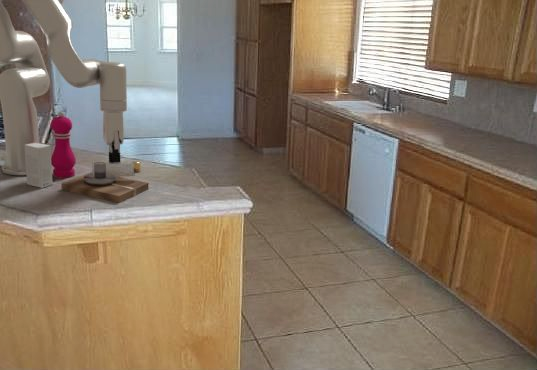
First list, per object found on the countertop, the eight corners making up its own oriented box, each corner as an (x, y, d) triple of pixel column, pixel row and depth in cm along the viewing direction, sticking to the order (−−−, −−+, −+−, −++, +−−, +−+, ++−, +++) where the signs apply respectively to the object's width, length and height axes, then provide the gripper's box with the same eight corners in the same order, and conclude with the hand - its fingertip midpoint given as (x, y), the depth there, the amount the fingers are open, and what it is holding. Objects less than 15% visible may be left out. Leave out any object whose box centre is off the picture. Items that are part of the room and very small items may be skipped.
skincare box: (53, 184, 153) (51, 145, 149) (41, 188, 149) (39, 148, 146) (38, 180, 155) (35, 141, 152) (26, 184, 152) (23, 144, 148)
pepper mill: (68, 179, 158) (65, 114, 152) (46, 176, 160) (42, 112, 153) (80, 173, 165) (78, 111, 159) (60, 170, 166) (57, 108, 160)
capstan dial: (85, 186, 147) (84, 168, 145) (82, 177, 155) (81, 160, 153) (143, 183, 153) (143, 166, 152) (137, 174, 161) (137, 158, 159)
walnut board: (61, 189, 150) (61, 182, 149) (94, 177, 162) (93, 171, 161) (119, 202, 143) (119, 195, 142) (148, 189, 156) (148, 182, 155)
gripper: (97, 100, 159) (99, 158, 164) (103, 109, 146) (105, 172, 151) (122, 100, 162) (123, 157, 167) (130, 109, 149) (131, 171, 154)
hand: (114, 164), depth 159 cm, fingers closed
